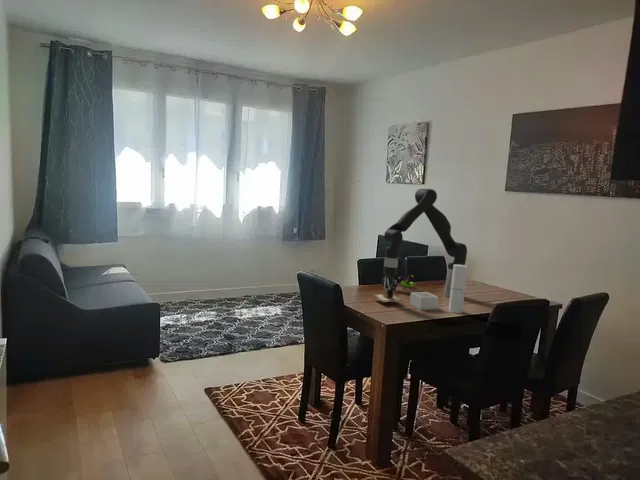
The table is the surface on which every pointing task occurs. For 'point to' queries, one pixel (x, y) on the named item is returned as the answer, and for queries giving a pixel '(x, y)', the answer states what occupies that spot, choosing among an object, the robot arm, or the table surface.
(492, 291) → the table surface
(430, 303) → the off-white box
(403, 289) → the plant
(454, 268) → the cylindrical container
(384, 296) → the oak lid
